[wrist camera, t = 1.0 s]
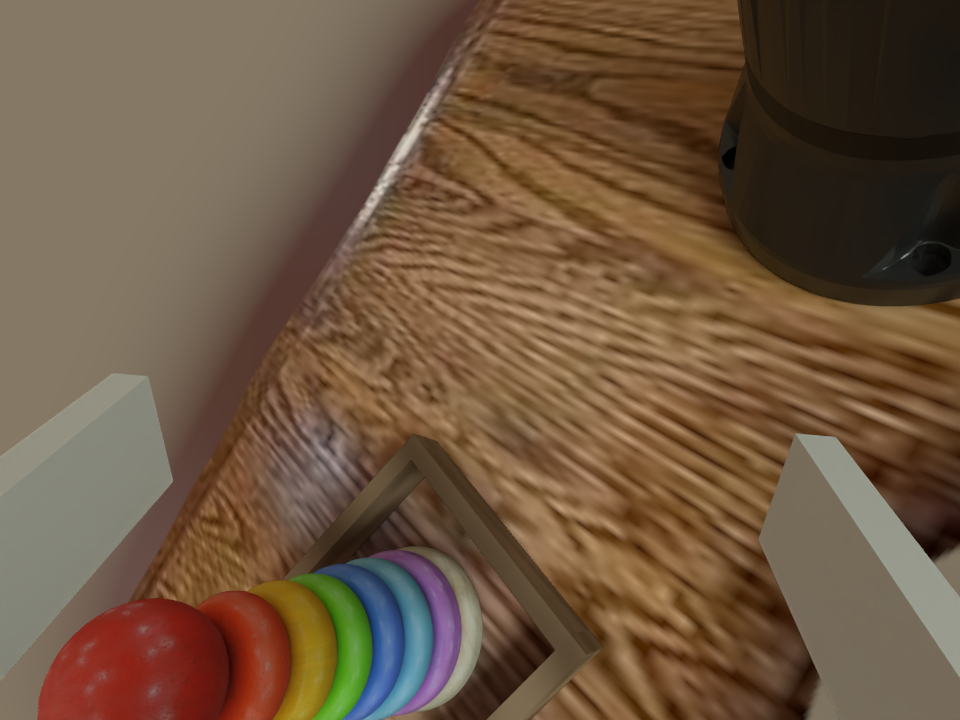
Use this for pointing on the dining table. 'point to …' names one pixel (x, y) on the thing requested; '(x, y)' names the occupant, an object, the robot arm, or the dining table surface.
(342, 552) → the walnut holder
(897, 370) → the dining table surface
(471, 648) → the stacking toy
